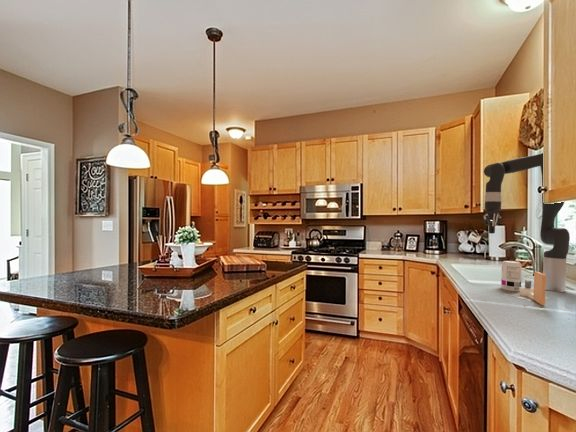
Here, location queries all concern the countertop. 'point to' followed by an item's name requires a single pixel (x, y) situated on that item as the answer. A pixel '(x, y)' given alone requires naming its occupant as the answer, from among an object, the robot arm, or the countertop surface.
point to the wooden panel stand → (536, 288)
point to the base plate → (527, 285)
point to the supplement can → (511, 275)
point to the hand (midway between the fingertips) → (491, 233)
